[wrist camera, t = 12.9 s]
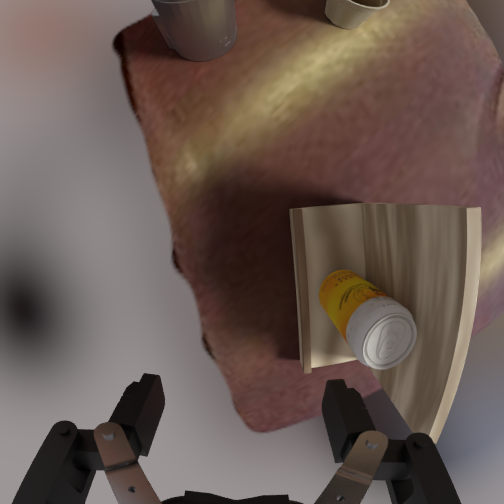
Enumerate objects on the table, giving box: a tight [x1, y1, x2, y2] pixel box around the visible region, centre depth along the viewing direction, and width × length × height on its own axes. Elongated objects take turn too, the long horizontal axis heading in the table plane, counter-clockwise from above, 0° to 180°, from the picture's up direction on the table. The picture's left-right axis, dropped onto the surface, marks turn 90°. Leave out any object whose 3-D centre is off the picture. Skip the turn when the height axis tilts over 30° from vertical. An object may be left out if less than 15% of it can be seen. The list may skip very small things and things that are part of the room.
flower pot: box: [325, 0, 390, 29], centre depth 26 cm, size 9×9×9 cm
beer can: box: [319, 270, 417, 370], centre depth 28 cm, size 6×6×15 cm
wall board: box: [289, 203, 481, 444], centre depth 27 cm, size 11×22×22 cm, turn 6°
